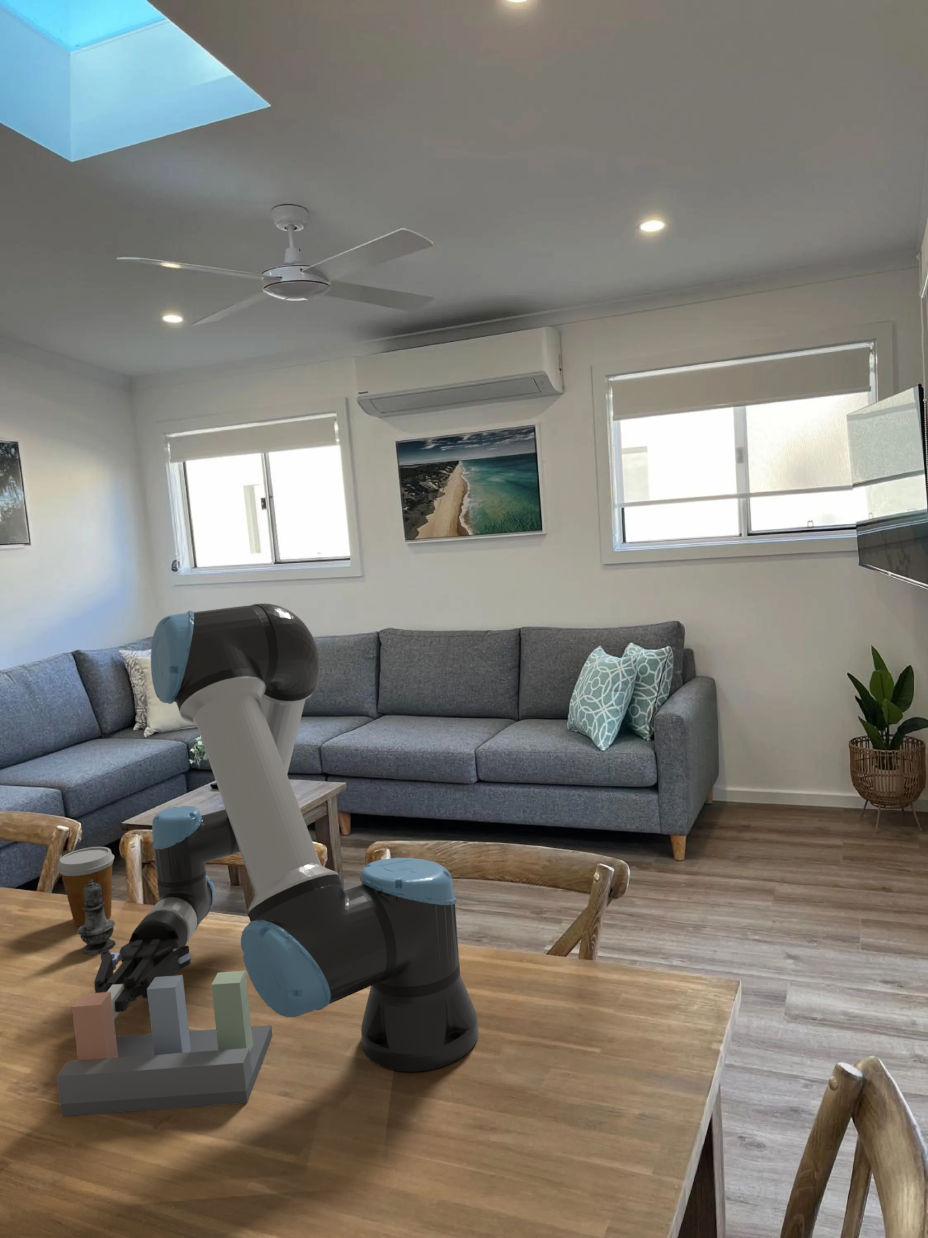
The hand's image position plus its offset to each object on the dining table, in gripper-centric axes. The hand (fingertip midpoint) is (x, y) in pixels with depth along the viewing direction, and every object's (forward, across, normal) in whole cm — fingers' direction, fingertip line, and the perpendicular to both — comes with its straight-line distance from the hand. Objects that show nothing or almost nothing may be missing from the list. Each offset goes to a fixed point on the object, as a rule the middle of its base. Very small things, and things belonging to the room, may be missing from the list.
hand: (98, 1022), depth 110 cm
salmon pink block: (+2, 0, -6) cm, 6 cm away
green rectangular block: (-1, -16, -6) cm, 17 cm away
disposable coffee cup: (-50, +23, -9) cm, 56 cm away
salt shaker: (-38, +17, -9) cm, 43 cm away
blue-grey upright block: (-1, -8, -6) cm, 10 cm away
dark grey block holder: (-1, -8, -8) cm, 11 cm away
